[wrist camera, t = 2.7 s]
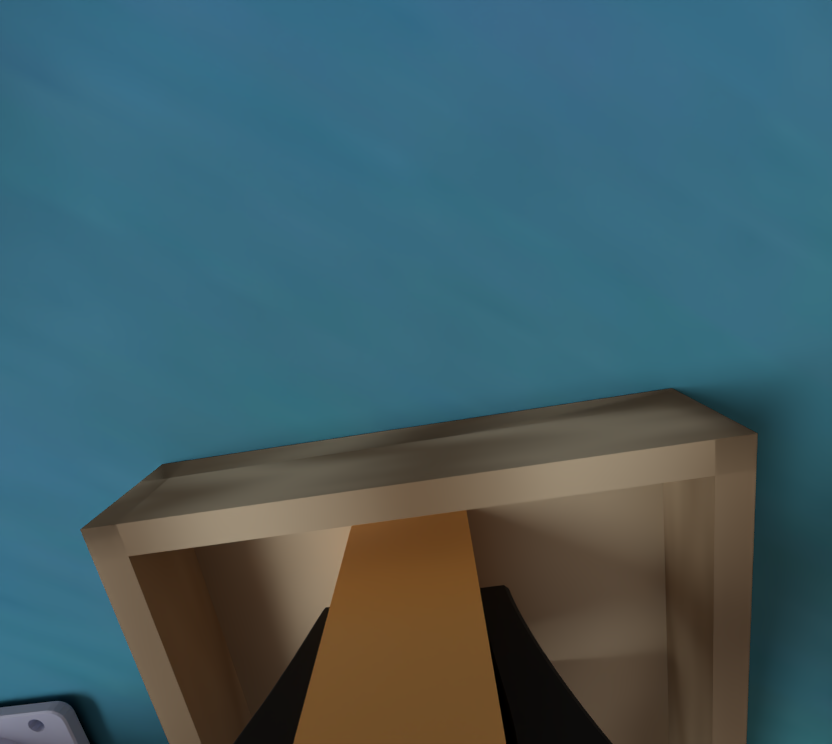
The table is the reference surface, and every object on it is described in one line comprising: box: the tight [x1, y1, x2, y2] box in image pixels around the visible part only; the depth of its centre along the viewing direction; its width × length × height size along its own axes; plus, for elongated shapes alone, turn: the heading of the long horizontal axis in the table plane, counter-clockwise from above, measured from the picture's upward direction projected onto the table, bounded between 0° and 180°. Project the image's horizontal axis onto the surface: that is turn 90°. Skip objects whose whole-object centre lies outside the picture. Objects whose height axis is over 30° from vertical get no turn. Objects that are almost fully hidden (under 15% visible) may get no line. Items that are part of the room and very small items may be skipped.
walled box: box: [80, 388, 758, 744], centre depth 12 cm, size 14×16×3 cm
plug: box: [293, 510, 506, 744], centre depth 8 cm, size 3×4×8 cm
